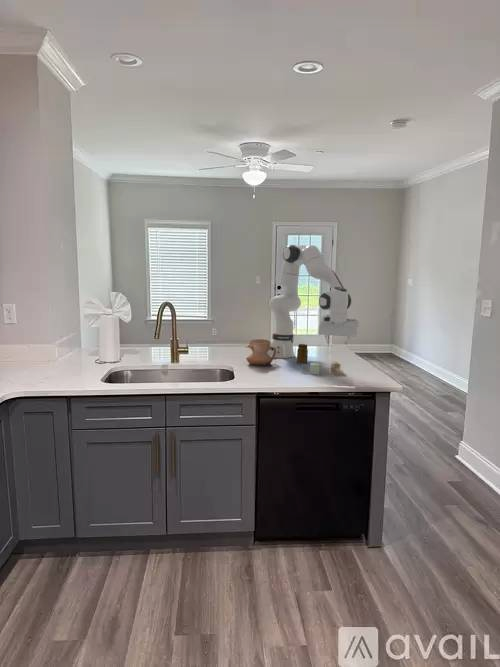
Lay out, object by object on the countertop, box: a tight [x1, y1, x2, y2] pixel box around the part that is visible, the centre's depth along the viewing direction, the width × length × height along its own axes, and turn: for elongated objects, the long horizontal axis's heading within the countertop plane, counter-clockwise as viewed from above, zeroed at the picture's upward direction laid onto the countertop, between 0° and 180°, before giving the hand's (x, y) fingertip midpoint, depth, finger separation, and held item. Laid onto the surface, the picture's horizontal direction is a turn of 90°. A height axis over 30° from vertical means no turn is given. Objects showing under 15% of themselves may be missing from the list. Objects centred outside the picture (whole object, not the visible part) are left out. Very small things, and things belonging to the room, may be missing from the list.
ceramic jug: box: [245, 338, 276, 367], centre depth 250 cm, size 18×14×14 cm
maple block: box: [330, 361, 342, 373], centre depth 233 cm, size 5×5×5 cm
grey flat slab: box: [300, 366, 344, 378], centre depth 234 cm, size 22×15×1 cm
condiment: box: [296, 343, 309, 365], centre depth 252 cm, size 7×8×12 cm
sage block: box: [309, 362, 321, 375], centre depth 230 cm, size 5×5×5 cm
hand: (336, 343), depth 231 cm, fingers open, 8 cm apart
